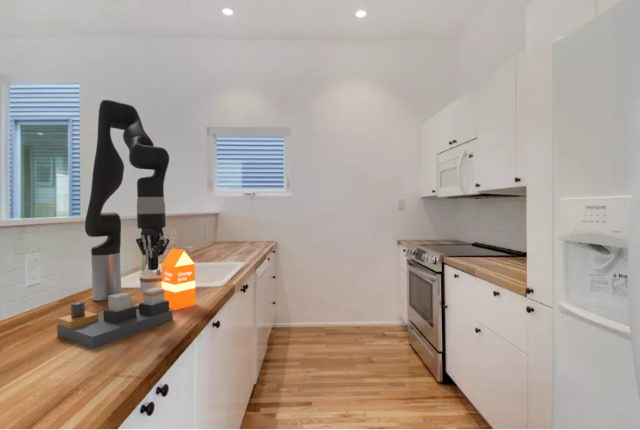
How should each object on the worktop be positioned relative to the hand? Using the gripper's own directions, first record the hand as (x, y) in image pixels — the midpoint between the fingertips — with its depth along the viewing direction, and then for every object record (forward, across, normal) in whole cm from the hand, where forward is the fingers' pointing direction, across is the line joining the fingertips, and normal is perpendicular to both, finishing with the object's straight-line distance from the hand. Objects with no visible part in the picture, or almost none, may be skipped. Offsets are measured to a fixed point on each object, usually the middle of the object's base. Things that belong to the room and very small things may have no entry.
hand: (153, 269), depth 94 cm
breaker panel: (+16, +6, +8) cm, 18 cm away
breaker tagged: (+11, 0, 0) cm, 11 cm away
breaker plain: (+11, +4, +8) cm, 14 cm away
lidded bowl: (+16, +22, -16) cm, 32 cm away
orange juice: (+16, +8, -14) cm, 23 cm away
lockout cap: (+13, +11, +15) cm, 23 cm away
